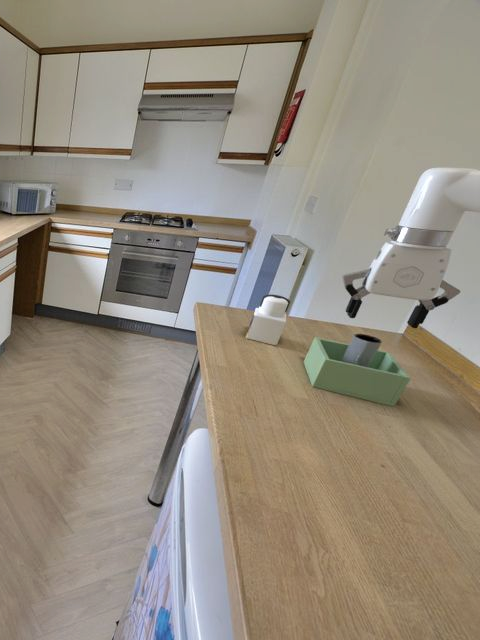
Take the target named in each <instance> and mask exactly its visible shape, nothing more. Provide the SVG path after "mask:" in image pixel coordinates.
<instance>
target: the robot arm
mask: <svg viewBox="0 0 480 640" xmlns="http://www.w3.org/2000/svg"><path fill="white" fill-rule="evenodd" d="M404 209H405V210H404V212H403V214H402V216H401V218H400V221H399V223H398V225H396V226H395V227H393V228H386V229H385V231H384V234H383V235H384V236H385V237H389V238H390V240H389V241H385V243H384V244H383V245H382V247H381V248H380V250H379V251H378V253H377V254H376V255H375V257H374V259H373V260H372V261H371V264H370V266H369V267H368V269H363V270H359V271H355V272H351V273H346V274H343V275H342V282H343V285H344V286H343V287H344V289H345V290H346V291H347V293H348V294H349V295H350V299H349V301H348V304H347V306H346V308H345V312H346V315H347V316H348V317H349V319H355V318H356V317H357V315H358V313H359V311H360V308H361V305H362V304H363V300H362V298H364V297H366V296H368V295H370V294H373V295H377V296H386V297H391V298H392V297H394V298H400V299H407V300H414V301H418V303H419V304H417V305H415V306H414V308H413V310H412V312H411V314H410V316H409V318H408V320H407V322H406V323H407V325H409V326H410V327H411V328H412V329H418V327H419V326H420V325H422V324H423V323H424V321H425V320H426V318H427V317H428V314H429V312H430V311H433V310H434V309H435V308H438V307H440V306H442V305H445V304H447V303H448V302H449V301H450V300H452V299H454V298H455V297H456V296H458V295H460V294H461V290H460V289H458V287H456V286H454V285H452V284H451V283H449V282H447V281H446V280H444V277H445V274H446V272H447V268H448V266H449V263H450V259H451V256H452V251H453V250H452V248H449V247H447V246H448V244H449V243H450V241H451V239H452V237H453V235H454V233H455V231H456V229H457V227H458V225H459V223H460V222H461V220H462V218H463V216H464V214H465V212H473V213H478V214H480V170H479V169H476V168H467V167H432V168H428V169H426V170H425V171H424V172H423V173H422V174H420V177H419V178H418V180H417V183H416V185H415V187H414V189H413V192H412V194H411V196H410V198H409V201H408V203H407V205H406V207H405V208H404ZM360 279H363V280H362V282H361V286H359V287H358V288H355V287H354V283H353V282H354V281H356V280H360ZM439 289H442V290H443V293H442V294H441V295H438V296H436V295H437V293H438V291H439Z"/></svg>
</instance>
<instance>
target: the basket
mask: <svg viewBox="0 0 480 640" xmlns="http://www.w3.org/2000/svg"><path fill="white" fill-rule="evenodd" d="M349 344H350V343H345V342H340V341H335V340H330V339H325V338H320V337H315V336H314V338H313V341H312V343H311V345H310V346H309V349H308V352H307V354H306V356H305V358H304V360H303V365H304V367H305V370H306V373H307V376H308V379H309V381H310V384H311V387H313V388H316V389H321V390H325V391H327V392H328V391H329V392H331V393H332V392H333V393H336V394H341V395H345V396H348V397H354V398H357V399H360V400H361V399H362V400H364V401H365V400H366V401H369V402H373V403H378V404H382V405H385V406H390V407H394V408H395V405H397V402H398V400H399V399H400V397H401V395H402V394H403V392H404V390H405V389H406V388H407V385H409V382H410V381H411V379H412V378H411V376H410V375H409V374H408V373H407V372H406V371H405V369H404V368H403V366H401V364H400V363H399V362H398V360H397V359H396V358H395V357H394V356H393V355H392V353H391V352H389V351H385V350H380V349H378V351H377V352H376V354H375V356H374V358H373V360H372V362H371V364H370V365H369V367H363V366H359V365H354V364H350V363H345V362H341V360H342V358H343V356H344V354H345V352H346V350H347V348H348V346H349Z"/></svg>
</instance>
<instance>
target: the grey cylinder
mask: <svg viewBox="0 0 480 640" xmlns="http://www.w3.org/2000/svg"><path fill="white" fill-rule="evenodd" d="M382 343H383V341H382V339H380V338H378V337H376V336H373V335H370V334H366V333H365V334H364V333H355V334H354V335H352V338H351V340H350V342H349V343H348V344H349V346H348V348H347V350H346V352H345V354H344V356H343V358H342V360H341V362H345V363H350V364H354V365H359V366H363V367H369V365H370V364H371V362H372V360H373V358H374V356H375V354H376V352H377V351H378V350H380V347H381V345H382Z"/></svg>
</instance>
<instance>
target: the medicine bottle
mask: <svg viewBox="0 0 480 640" xmlns="http://www.w3.org/2000/svg"><path fill="white" fill-rule="evenodd" d="M290 304H291V301H290V299H288V298H287V297H285V296H283V295H278V294H266V295H263V296H262V299H261V301H260V304H259V306H258V307H256V308H255V309H254V311H253V315H252V317H251V319H250V322H249V324H248V328H247V331H246V334H245V339H247V340H251V341H255V342H258V343H263V344H268V345H271V346H278V343H279V341H280V339H281V336H282V333H283V331H284V328H285V326H286V324H287V312H288V309H289V308H290V307H289V306H290Z"/></svg>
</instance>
